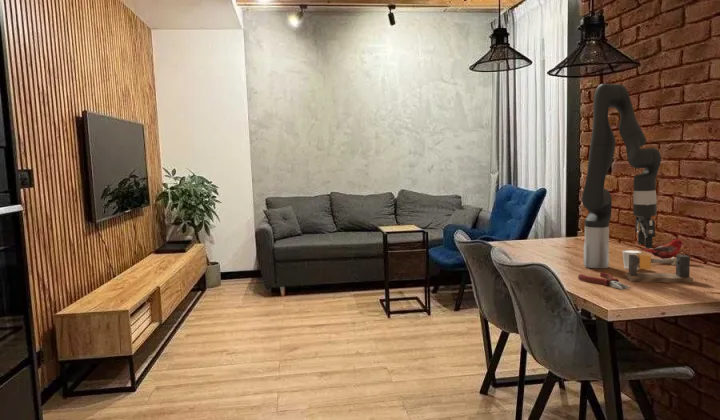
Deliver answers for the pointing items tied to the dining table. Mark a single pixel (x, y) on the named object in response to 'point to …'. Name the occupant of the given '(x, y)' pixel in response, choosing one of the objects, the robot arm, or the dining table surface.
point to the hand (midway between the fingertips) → (645, 246)
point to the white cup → (626, 257)
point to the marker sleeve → (644, 260)
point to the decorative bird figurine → (666, 249)
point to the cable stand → (680, 275)
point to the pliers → (604, 280)
